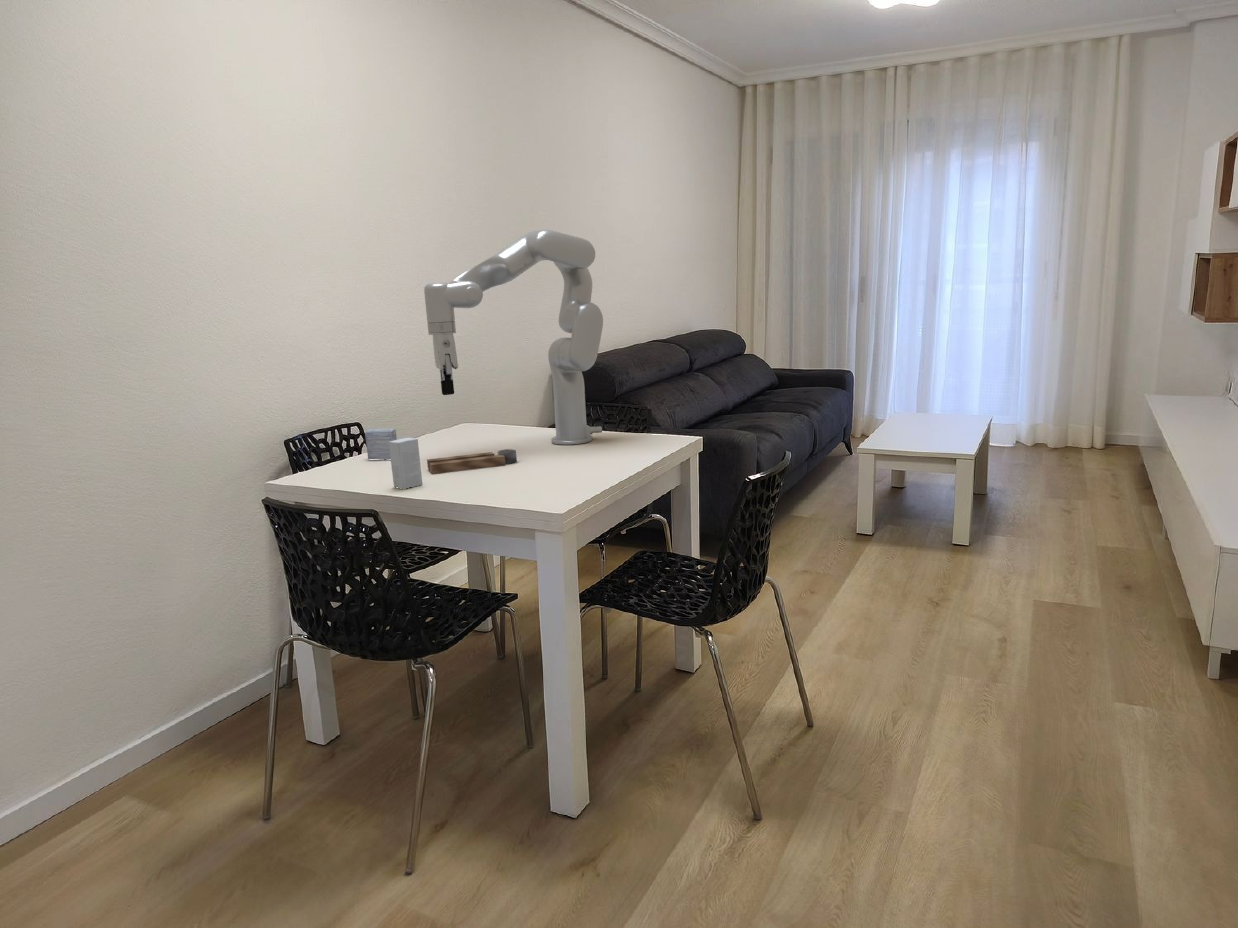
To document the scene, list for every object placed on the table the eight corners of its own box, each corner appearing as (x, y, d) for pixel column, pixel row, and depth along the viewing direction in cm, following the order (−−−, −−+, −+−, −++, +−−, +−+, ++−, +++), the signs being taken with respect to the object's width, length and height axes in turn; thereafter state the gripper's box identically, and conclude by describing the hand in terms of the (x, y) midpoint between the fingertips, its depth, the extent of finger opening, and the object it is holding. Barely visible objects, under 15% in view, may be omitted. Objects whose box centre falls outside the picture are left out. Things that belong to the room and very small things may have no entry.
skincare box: (412, 483, 225) (407, 437, 223) (423, 485, 222) (418, 438, 220) (392, 488, 221) (387, 441, 218) (403, 490, 218) (398, 442, 215)
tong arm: (492, 460, 247) (491, 451, 246) (495, 462, 244) (494, 453, 244) (427, 468, 241) (426, 459, 240) (429, 470, 238) (428, 461, 237)
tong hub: (514, 459, 248) (513, 448, 247) (519, 463, 242) (518, 452, 242) (428, 470, 240) (427, 458, 239) (431, 474, 234) (430, 462, 234)
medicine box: (399, 457, 260) (396, 428, 258) (394, 460, 256) (390, 431, 254) (373, 458, 261) (370, 429, 259) (367, 461, 257) (364, 431, 255)
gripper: (460, 328, 238) (466, 396, 242) (450, 326, 252) (456, 390, 256) (432, 330, 236) (439, 398, 240) (424, 328, 249) (430, 392, 253)
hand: (448, 394), depth 248 cm, fingers closed
